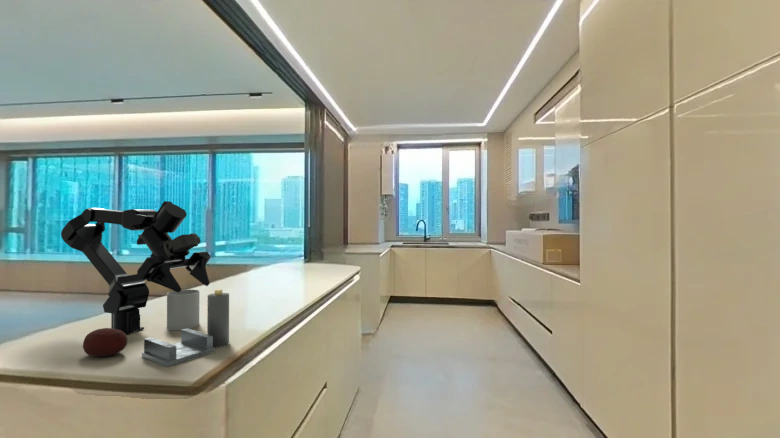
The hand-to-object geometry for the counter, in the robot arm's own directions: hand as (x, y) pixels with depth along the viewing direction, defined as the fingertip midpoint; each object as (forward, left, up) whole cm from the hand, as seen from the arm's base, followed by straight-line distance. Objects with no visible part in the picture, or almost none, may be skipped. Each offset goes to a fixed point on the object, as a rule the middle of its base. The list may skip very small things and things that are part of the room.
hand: (194, 287), depth 97 cm
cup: (-13, +11, -14) cm, 22 cm away
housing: (+4, -9, -14) cm, 17 cm away
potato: (-13, -13, -14) cm, 23 cm away
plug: (+4, 0, -14) cm, 14 cm away
